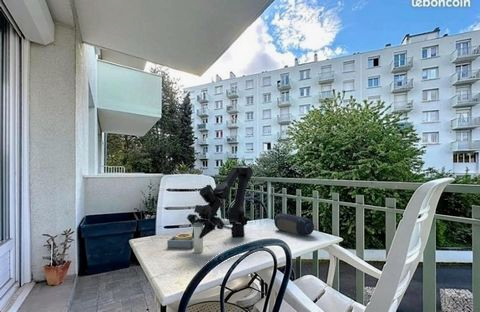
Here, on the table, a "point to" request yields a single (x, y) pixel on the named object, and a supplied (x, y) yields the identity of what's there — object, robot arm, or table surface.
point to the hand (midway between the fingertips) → (196, 237)
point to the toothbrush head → (226, 221)
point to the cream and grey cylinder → (197, 241)
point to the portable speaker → (294, 224)
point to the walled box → (181, 241)
